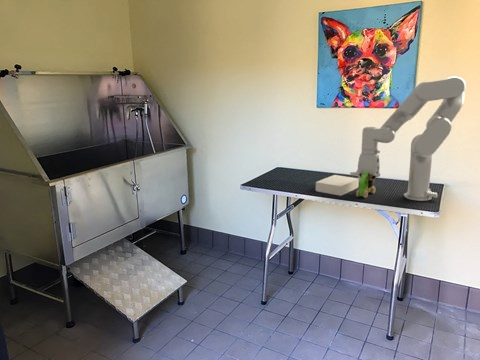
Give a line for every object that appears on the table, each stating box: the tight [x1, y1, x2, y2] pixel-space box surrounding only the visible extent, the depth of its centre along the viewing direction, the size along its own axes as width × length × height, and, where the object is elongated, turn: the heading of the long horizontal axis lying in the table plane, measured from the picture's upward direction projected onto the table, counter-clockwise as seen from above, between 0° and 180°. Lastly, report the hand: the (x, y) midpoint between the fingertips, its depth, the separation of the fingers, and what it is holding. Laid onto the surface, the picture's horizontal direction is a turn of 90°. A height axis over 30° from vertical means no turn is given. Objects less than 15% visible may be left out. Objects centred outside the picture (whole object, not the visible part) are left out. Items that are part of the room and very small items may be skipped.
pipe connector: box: [349, 171, 361, 184], centre depth 228 cm, size 10×10×10 cm
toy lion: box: [355, 171, 376, 199], centre depth 204 cm, size 16×6×15 cm, turn 140°
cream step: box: [315, 174, 360, 197], centre depth 216 cm, size 15×20×5 cm
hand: (367, 186), depth 205 cm, fingers closed on toy lion
